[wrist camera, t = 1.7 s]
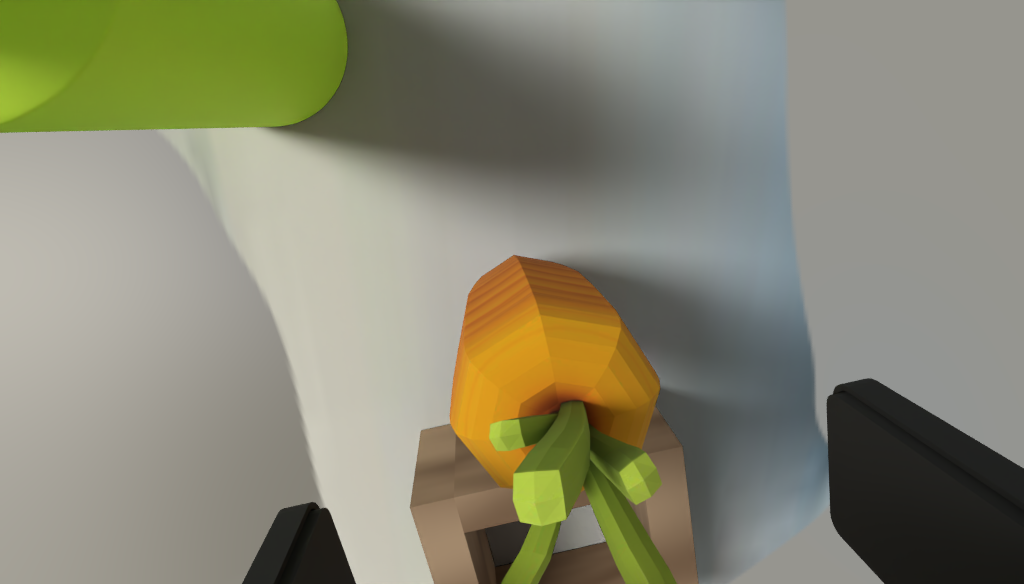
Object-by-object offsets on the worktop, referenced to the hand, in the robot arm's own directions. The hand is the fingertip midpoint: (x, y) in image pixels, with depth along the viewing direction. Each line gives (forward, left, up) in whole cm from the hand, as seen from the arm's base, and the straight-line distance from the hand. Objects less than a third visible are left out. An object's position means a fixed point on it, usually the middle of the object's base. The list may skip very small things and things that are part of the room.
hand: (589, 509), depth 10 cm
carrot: (-1, 0, -13) cm, 13 cm away
